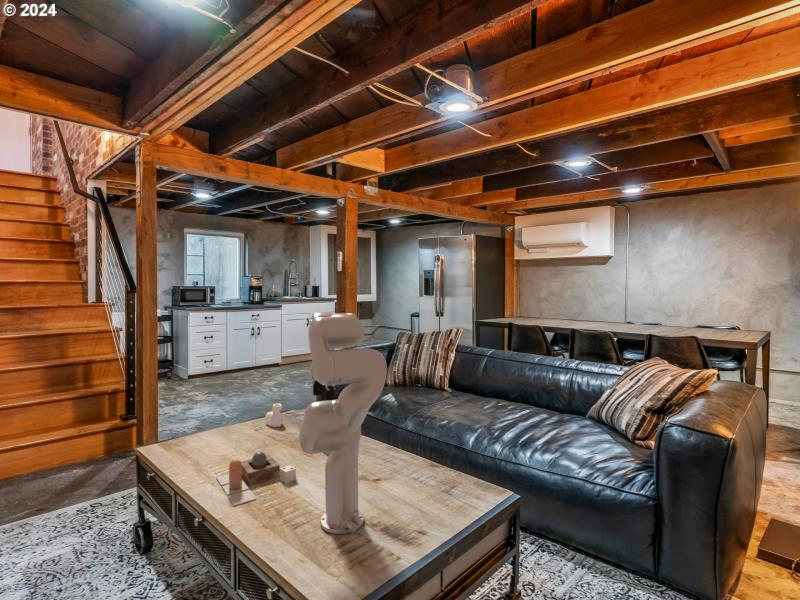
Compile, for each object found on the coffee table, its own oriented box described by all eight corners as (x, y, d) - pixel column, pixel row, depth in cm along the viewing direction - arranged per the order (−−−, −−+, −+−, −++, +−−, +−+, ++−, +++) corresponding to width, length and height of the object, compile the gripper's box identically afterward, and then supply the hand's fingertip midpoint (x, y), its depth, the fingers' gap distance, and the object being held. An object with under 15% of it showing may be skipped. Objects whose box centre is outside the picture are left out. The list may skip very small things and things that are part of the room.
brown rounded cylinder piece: (243, 488, 147) (243, 460, 147) (230, 491, 145) (230, 463, 144) (240, 483, 150) (240, 456, 150) (227, 486, 148) (227, 459, 148)
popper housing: (279, 476, 157) (279, 465, 156) (248, 484, 150) (248, 473, 150) (269, 465, 166) (269, 454, 165) (239, 472, 159) (239, 462, 159)
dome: (268, 469, 157) (268, 452, 157) (254, 472, 154) (254, 456, 154) (264, 464, 161) (263, 448, 161) (250, 467, 158) (250, 451, 158)
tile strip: (256, 499, 140) (256, 498, 140) (234, 506, 136) (234, 505, 136) (236, 473, 159) (236, 472, 159) (216, 478, 155) (216, 477, 155)
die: (295, 479, 154) (295, 468, 154) (286, 483, 151) (285, 471, 151) (289, 475, 157) (289, 464, 157) (280, 479, 154) (279, 468, 154)
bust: (284, 431, 207) (295, 409, 212) (274, 425, 201) (285, 403, 207) (267, 426, 213) (278, 405, 218) (257, 421, 208) (268, 399, 213)
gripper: (345, 351, 143) (345, 402, 144) (322, 344, 157) (322, 390, 158) (324, 353, 138) (324, 406, 139) (302, 346, 152) (303, 394, 154)
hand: (323, 398), depth 149 cm, fingers open, 9 cm apart
